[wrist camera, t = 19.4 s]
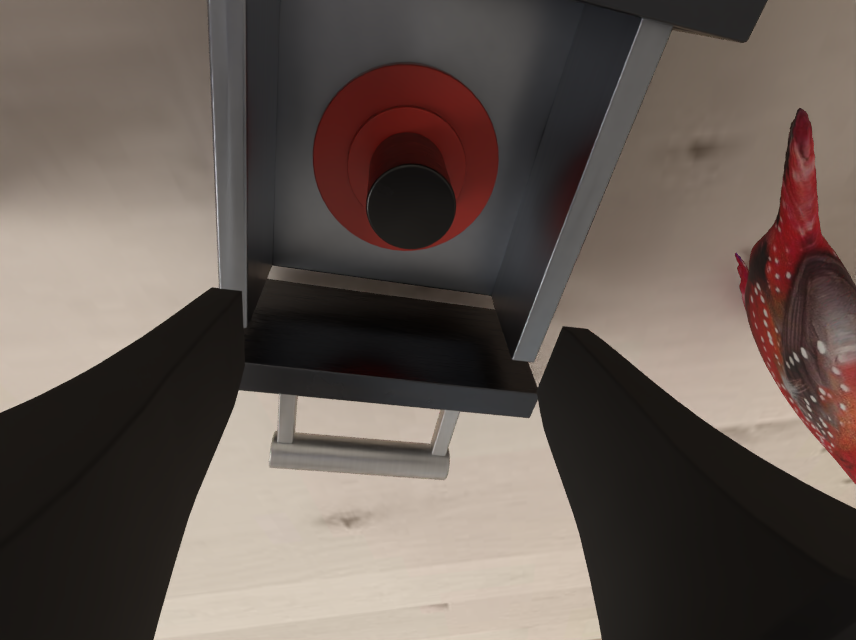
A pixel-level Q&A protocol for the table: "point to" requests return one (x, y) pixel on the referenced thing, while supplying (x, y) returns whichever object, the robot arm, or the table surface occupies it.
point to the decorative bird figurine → (805, 307)
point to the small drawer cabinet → (693, 15)
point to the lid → (405, 156)
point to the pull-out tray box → (433, 267)
